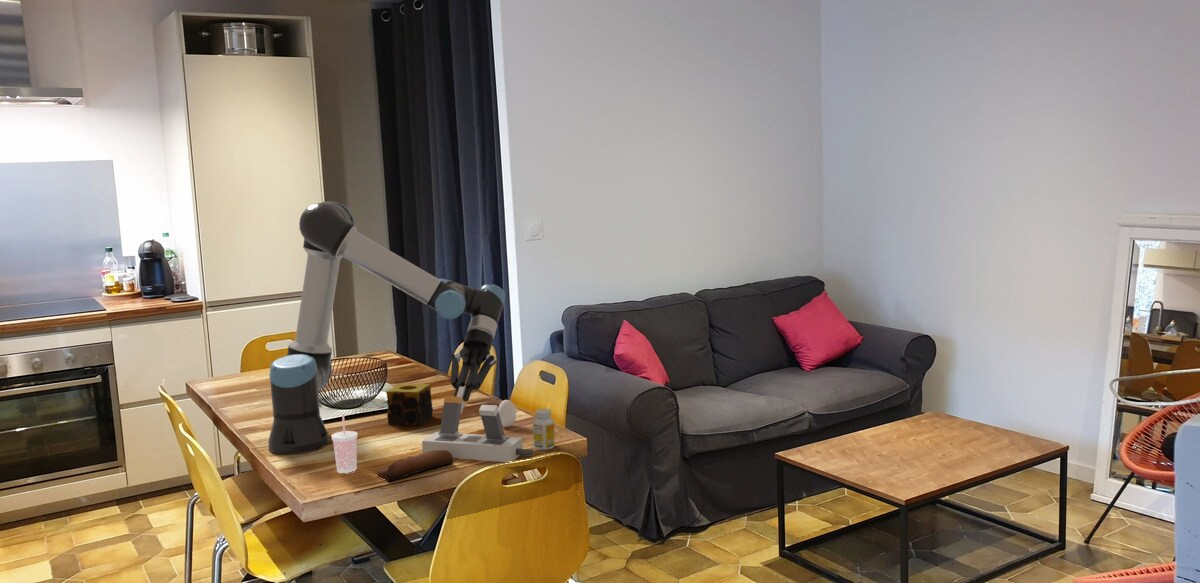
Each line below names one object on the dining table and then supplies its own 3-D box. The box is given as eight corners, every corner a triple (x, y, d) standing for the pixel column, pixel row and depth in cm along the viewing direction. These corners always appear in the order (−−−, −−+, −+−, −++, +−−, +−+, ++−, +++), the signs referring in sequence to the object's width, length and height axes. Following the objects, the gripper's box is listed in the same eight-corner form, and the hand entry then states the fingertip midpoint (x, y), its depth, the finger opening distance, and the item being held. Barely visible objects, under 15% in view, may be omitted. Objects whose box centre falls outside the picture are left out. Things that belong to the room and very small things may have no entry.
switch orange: (440, 436, 232) (446, 397, 234) (459, 437, 230) (464, 398, 233) (437, 434, 230) (442, 396, 233) (455, 436, 228) (461, 396, 231)
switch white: (488, 435, 228) (479, 404, 223) (507, 436, 227) (499, 405, 222) (485, 440, 227) (476, 410, 221) (504, 442, 225) (496, 411, 220)
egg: (509, 430, 249) (507, 403, 248) (493, 427, 252) (492, 401, 251) (520, 425, 253) (519, 398, 252) (505, 423, 256) (504, 396, 255)
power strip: (422, 456, 229) (421, 440, 228) (437, 446, 236) (436, 431, 236) (526, 463, 221) (525, 447, 220) (537, 453, 228) (537, 437, 228)
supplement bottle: (534, 450, 231) (532, 414, 229) (533, 444, 236) (532, 408, 234) (555, 449, 231) (553, 413, 230) (554, 443, 236) (552, 407, 235)
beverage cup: (330, 469, 220) (326, 413, 218) (355, 464, 224) (351, 409, 222) (337, 476, 215) (333, 419, 213) (363, 471, 218) (359, 415, 216)
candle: (420, 426, 255) (418, 392, 254) (386, 425, 257) (384, 391, 256) (433, 416, 265) (432, 383, 264) (401, 415, 267) (399, 382, 266)
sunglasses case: (434, 456, 228) (441, 437, 224) (449, 475, 224) (455, 456, 221) (370, 474, 215) (376, 454, 212) (384, 495, 212) (390, 475, 208)
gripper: (506, 343, 249) (485, 419, 235) (462, 342, 252) (439, 416, 239) (498, 328, 243) (475, 405, 229) (453, 327, 247) (429, 402, 233)
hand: (457, 410), depth 234 cm, fingers closed
